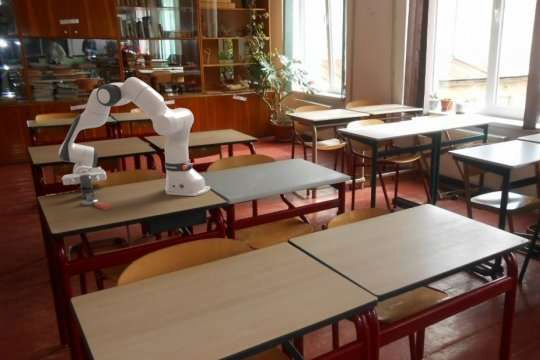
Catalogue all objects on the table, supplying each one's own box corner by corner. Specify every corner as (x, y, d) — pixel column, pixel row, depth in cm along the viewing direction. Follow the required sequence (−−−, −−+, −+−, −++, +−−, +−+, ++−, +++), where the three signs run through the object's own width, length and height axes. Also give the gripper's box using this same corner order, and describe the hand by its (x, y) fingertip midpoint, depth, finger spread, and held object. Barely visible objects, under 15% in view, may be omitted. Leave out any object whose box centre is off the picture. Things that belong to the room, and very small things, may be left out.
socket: (81, 195, 226) (78, 175, 223) (93, 193, 228) (90, 173, 225) (82, 198, 221) (79, 177, 219) (94, 196, 224) (91, 176, 221)
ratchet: (79, 204, 214) (77, 194, 212) (92, 200, 219) (91, 190, 218) (102, 211, 203) (100, 201, 202) (115, 206, 209) (114, 197, 208)
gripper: (60, 171, 235) (61, 178, 223) (103, 166, 243) (106, 172, 231) (62, 183, 237) (63, 190, 225) (105, 178, 245) (108, 184, 233)
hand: (85, 181), depth 228 cm, fingers open, 8 cm apart
